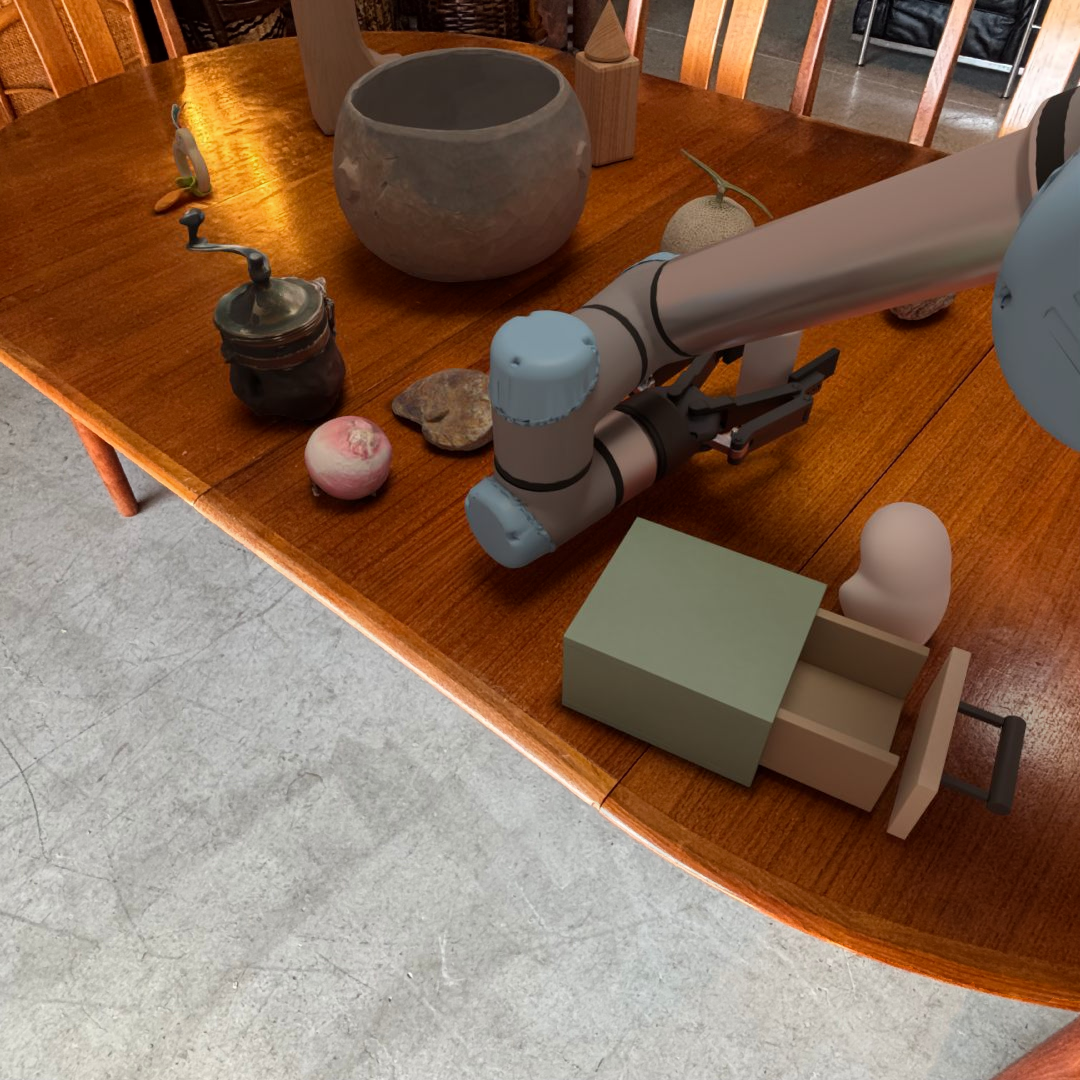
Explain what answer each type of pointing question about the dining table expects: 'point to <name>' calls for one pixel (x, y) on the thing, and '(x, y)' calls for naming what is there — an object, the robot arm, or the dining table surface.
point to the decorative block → (331, 55)
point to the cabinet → (689, 647)
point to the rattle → (186, 165)
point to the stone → (923, 307)
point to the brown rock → (450, 408)
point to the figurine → (901, 573)
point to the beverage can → (768, 363)
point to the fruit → (707, 218)
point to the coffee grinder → (276, 336)
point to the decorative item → (608, 90)
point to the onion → (348, 458)
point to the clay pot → (462, 162)
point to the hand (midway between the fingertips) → (801, 343)
